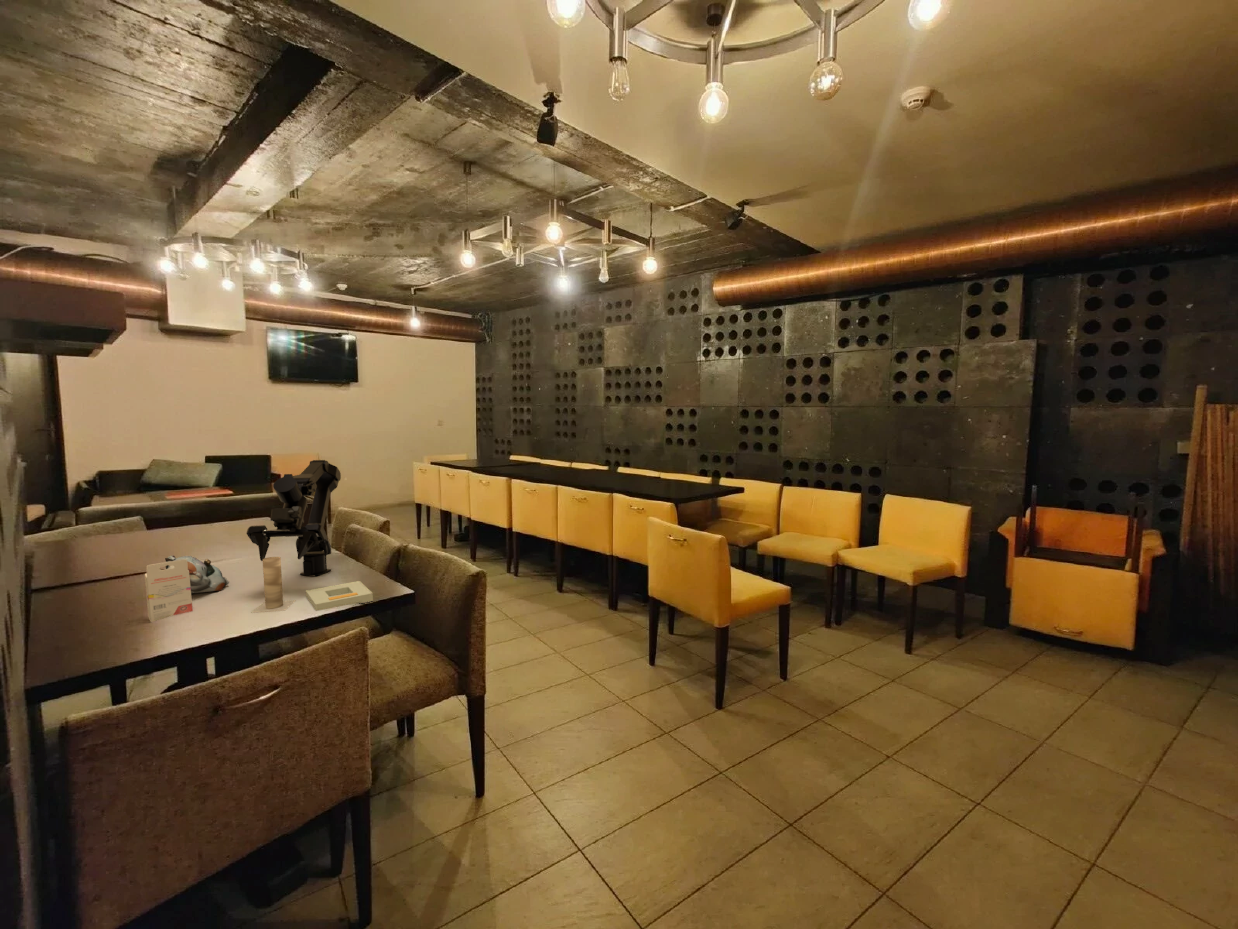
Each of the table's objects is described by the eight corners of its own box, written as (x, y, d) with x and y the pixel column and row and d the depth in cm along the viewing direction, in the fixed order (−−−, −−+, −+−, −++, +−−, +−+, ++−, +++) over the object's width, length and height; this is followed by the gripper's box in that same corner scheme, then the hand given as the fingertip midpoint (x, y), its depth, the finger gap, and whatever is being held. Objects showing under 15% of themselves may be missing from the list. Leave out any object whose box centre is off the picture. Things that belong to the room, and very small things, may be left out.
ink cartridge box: (189, 609, 143) (185, 555, 142) (193, 614, 140) (189, 558, 138) (147, 618, 137) (142, 561, 136) (149, 623, 134) (145, 565, 132)
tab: (264, 605, 147) (264, 602, 146) (296, 602, 148) (296, 600, 148) (251, 615, 139) (250, 612, 139) (285, 613, 141) (285, 610, 140)
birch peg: (274, 603, 146) (271, 556, 145) (286, 604, 145) (284, 557, 144) (261, 608, 142) (258, 560, 141) (274, 609, 141) (271, 561, 140)
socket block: (306, 599, 151) (305, 589, 151) (359, 589, 160) (359, 580, 160) (316, 613, 140) (315, 603, 140) (373, 602, 149) (372, 592, 149)
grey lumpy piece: (237, 587, 161) (221, 553, 153) (194, 614, 152) (174, 579, 144) (209, 567, 167) (191, 533, 159) (165, 591, 158) (145, 557, 150)
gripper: (247, 497, 149) (230, 545, 140) (320, 495, 153) (309, 542, 144) (261, 520, 158) (246, 567, 148) (330, 517, 162) (320, 563, 152)
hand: (280, 559), depth 148 cm, fingers open, 9 cm apart
